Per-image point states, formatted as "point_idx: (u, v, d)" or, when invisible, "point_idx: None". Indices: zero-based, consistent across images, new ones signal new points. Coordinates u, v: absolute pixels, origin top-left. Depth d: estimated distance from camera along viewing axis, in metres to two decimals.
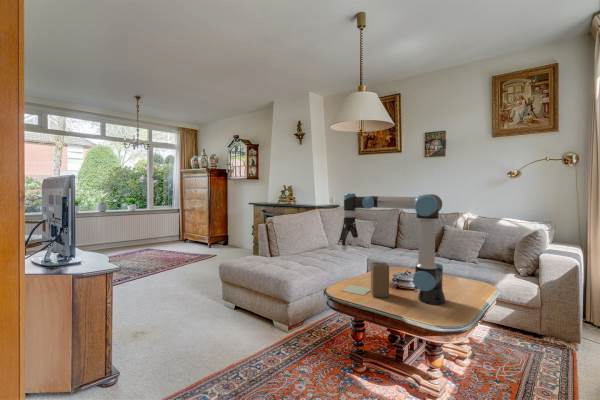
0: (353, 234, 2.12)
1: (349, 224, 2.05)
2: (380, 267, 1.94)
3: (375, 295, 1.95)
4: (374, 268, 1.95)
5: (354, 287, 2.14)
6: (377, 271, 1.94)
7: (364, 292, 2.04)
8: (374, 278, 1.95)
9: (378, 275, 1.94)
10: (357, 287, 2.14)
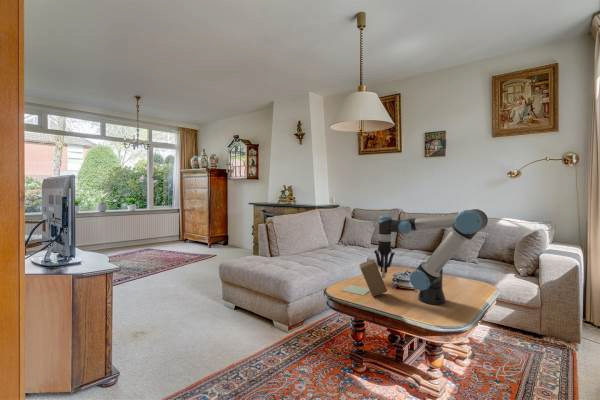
0: None
1: (379, 247, 1.98)
2: (367, 266, 1.95)
3: (374, 294, 1.95)
4: (362, 269, 1.95)
5: (354, 287, 2.14)
6: (366, 271, 1.95)
7: (364, 292, 2.04)
8: (366, 279, 1.95)
9: (369, 274, 1.95)
10: (357, 287, 2.14)
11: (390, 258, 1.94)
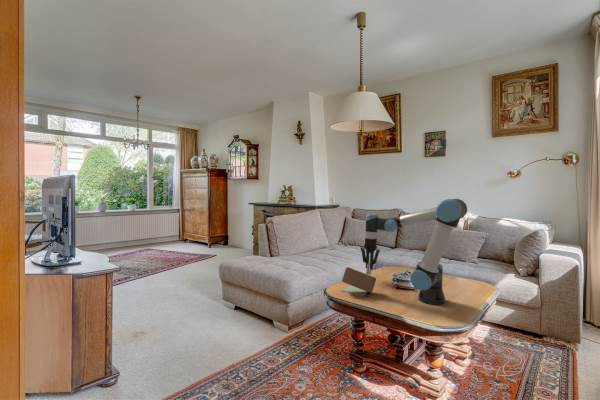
0: None
1: (365, 244, 2.03)
2: (345, 275, 2.01)
3: (370, 290, 1.96)
4: (344, 281, 2.00)
5: (354, 287, 2.14)
6: (347, 279, 2.00)
7: (364, 292, 2.04)
8: (353, 284, 1.99)
9: (351, 279, 1.99)
10: None
11: (376, 255, 1.99)
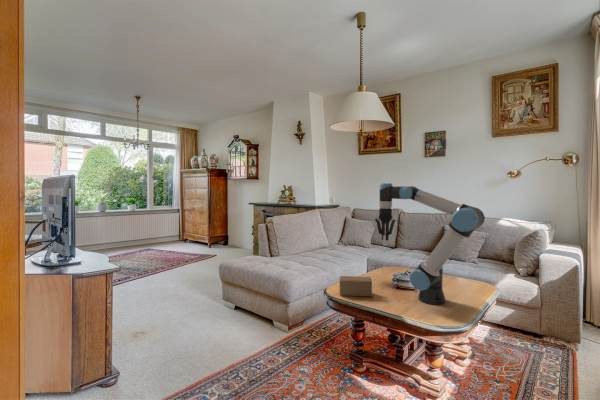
0: None
1: (380, 214, 1.97)
2: (341, 289, 1.98)
3: (369, 294, 1.95)
4: (342, 294, 1.98)
5: None
6: (345, 292, 1.97)
7: None
8: (352, 294, 1.97)
9: (349, 291, 1.97)
10: None
11: (391, 225, 1.92)
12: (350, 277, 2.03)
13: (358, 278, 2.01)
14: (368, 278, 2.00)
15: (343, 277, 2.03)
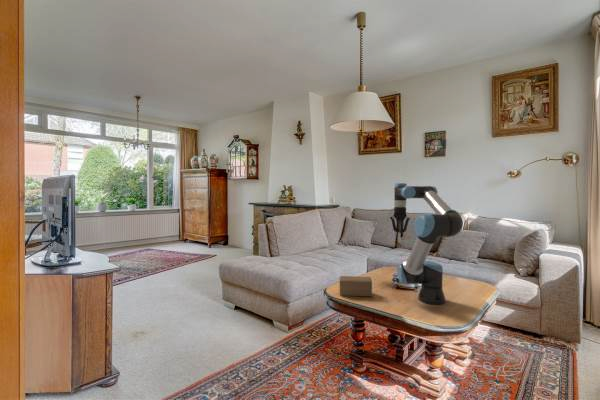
0: None
1: (395, 213, 2.07)
2: (341, 289, 1.98)
3: (369, 294, 1.95)
4: (342, 294, 1.98)
5: None
6: (345, 292, 1.97)
7: None
8: (352, 294, 1.97)
9: (349, 291, 1.97)
10: None
11: (406, 223, 2.03)
12: (350, 277, 2.03)
13: (358, 278, 2.01)
14: (368, 278, 2.00)
15: (343, 277, 2.03)
